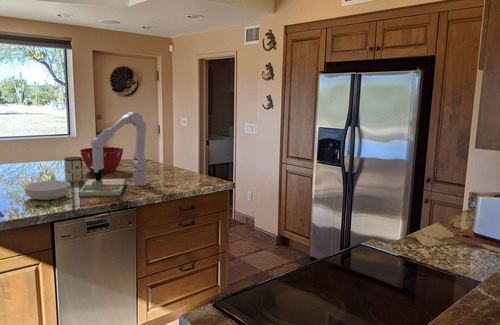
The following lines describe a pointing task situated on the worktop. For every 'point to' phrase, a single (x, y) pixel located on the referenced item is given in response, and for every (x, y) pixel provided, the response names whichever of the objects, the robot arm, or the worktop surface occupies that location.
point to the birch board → (107, 182)
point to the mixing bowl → (104, 158)
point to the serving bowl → (47, 189)
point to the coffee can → (73, 169)
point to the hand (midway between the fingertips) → (98, 182)
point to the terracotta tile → (107, 189)
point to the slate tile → (97, 183)
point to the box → (100, 191)
